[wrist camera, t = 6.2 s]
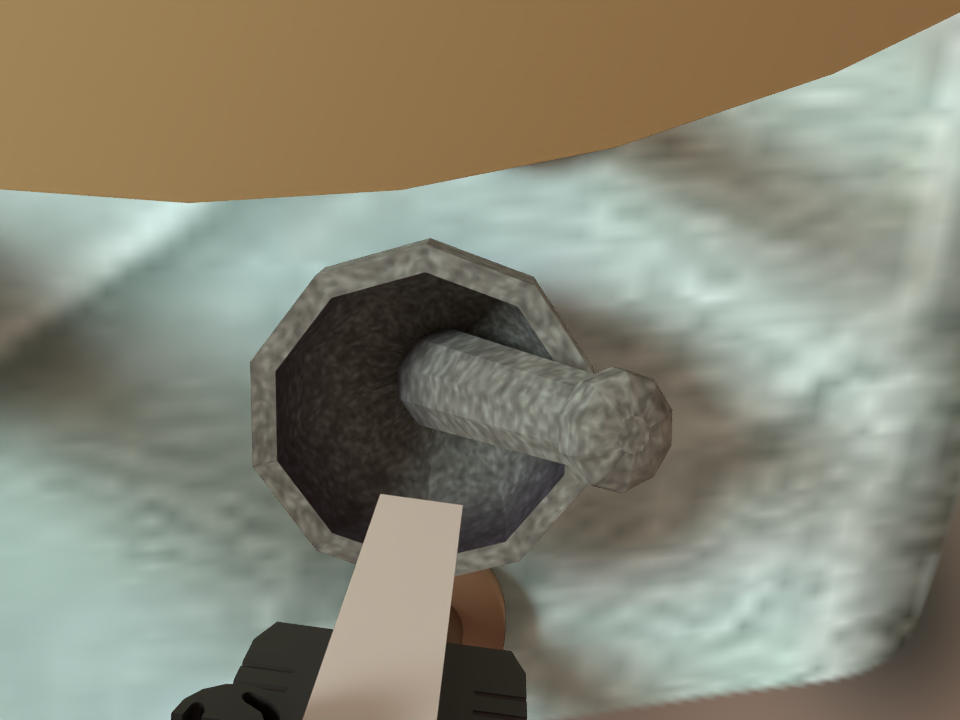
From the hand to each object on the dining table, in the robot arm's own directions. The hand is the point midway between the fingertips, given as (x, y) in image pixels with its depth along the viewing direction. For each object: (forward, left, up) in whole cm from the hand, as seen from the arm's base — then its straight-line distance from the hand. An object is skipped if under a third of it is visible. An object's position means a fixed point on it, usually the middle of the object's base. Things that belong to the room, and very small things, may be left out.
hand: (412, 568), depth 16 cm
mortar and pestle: (0, 0, -16) cm, 16 cm away
